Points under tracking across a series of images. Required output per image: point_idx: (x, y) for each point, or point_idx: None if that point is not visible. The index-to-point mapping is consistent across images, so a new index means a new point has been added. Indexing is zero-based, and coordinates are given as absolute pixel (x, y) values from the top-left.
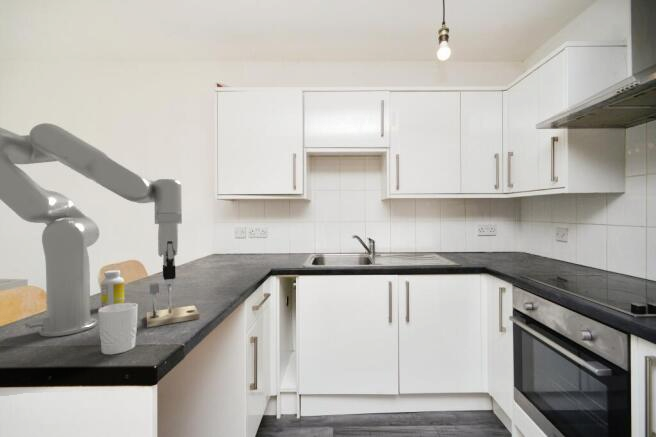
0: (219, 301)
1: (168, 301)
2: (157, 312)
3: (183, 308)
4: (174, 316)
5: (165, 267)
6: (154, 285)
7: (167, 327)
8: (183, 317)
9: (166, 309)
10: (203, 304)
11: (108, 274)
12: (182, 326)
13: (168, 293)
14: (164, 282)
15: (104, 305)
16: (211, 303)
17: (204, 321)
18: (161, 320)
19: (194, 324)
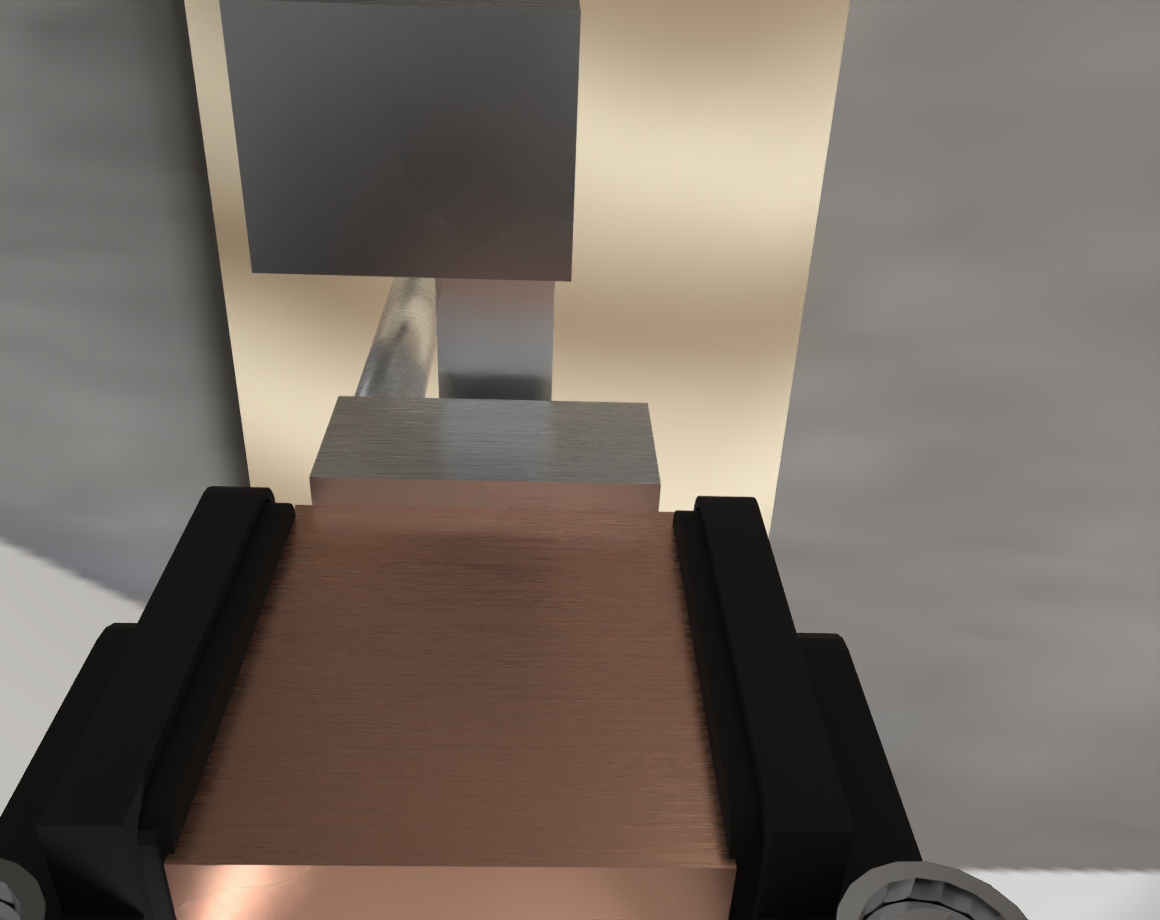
0: (935, 826)
1: (388, 301)
2: (703, 59)
3: (682, 442)
4: (287, 281)
5: (76, 841)
6: (239, 148)
7: (47, 134)
8: (244, 382)
9: (805, 214)
10: (942, 668)
11: None
12: (14, 317)
13: (364, 376)
14: (323, 438)
15: None
16: (913, 746)
17: (124, 562)
18: (203, 81)
19: (44, 452)
